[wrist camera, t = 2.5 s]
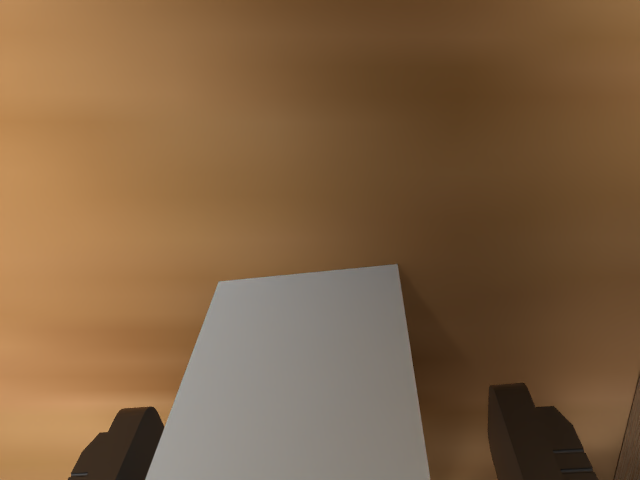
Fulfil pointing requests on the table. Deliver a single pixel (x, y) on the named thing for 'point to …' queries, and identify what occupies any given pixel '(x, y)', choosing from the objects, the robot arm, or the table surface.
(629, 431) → the grey notched bar
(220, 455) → the block
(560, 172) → the table surface
